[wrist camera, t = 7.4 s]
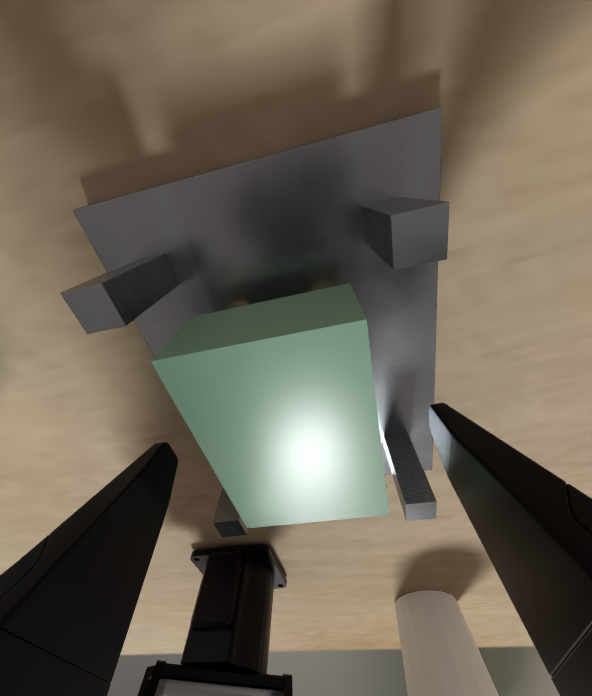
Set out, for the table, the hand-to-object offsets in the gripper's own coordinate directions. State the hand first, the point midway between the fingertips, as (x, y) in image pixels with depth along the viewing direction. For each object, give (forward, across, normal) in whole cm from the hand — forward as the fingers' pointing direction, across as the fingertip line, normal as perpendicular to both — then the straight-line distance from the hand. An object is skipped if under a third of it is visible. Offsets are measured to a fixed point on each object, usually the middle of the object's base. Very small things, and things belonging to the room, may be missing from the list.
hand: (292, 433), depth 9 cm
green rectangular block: (+2, 0, 0) cm, 2 cm away
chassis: (+4, 0, 0) cm, 4 cm away
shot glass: (+5, -6, +29) cm, 30 cm away
